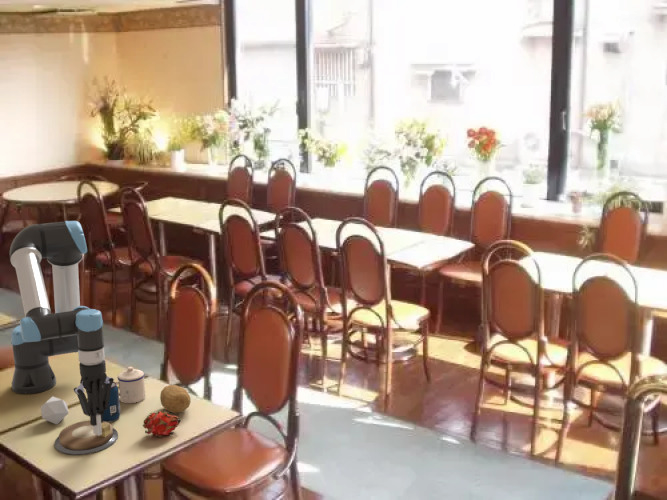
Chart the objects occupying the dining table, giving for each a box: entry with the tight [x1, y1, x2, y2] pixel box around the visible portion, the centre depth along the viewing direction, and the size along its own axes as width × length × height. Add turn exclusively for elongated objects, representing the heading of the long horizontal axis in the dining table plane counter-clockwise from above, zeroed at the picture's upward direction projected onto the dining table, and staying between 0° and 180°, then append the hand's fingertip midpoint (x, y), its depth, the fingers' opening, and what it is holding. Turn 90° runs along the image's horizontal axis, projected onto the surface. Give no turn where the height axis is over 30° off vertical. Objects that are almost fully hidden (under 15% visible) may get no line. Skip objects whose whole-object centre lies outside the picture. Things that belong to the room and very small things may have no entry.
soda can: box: [103, 381, 122, 423], centre depth 267 cm, size 7×7×12 cm
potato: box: [159, 384, 191, 414], centre depth 272 cm, size 10×14×8 cm
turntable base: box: [54, 427, 119, 456], centre depth 253 cm, size 19×19×1 cm
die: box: [40, 395, 69, 425], centre depth 266 cm, size 8×9×10 cm
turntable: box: [58, 419, 113, 450], centre depth 253 cm, size 16×16×5 cm
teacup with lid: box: [114, 366, 146, 404], centre depth 281 cm, size 12×9×12 cm
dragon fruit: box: [142, 410, 181, 439], centre depth 255 cm, size 8×8×12 cm
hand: (97, 433), depth 248 cm, fingers closed
